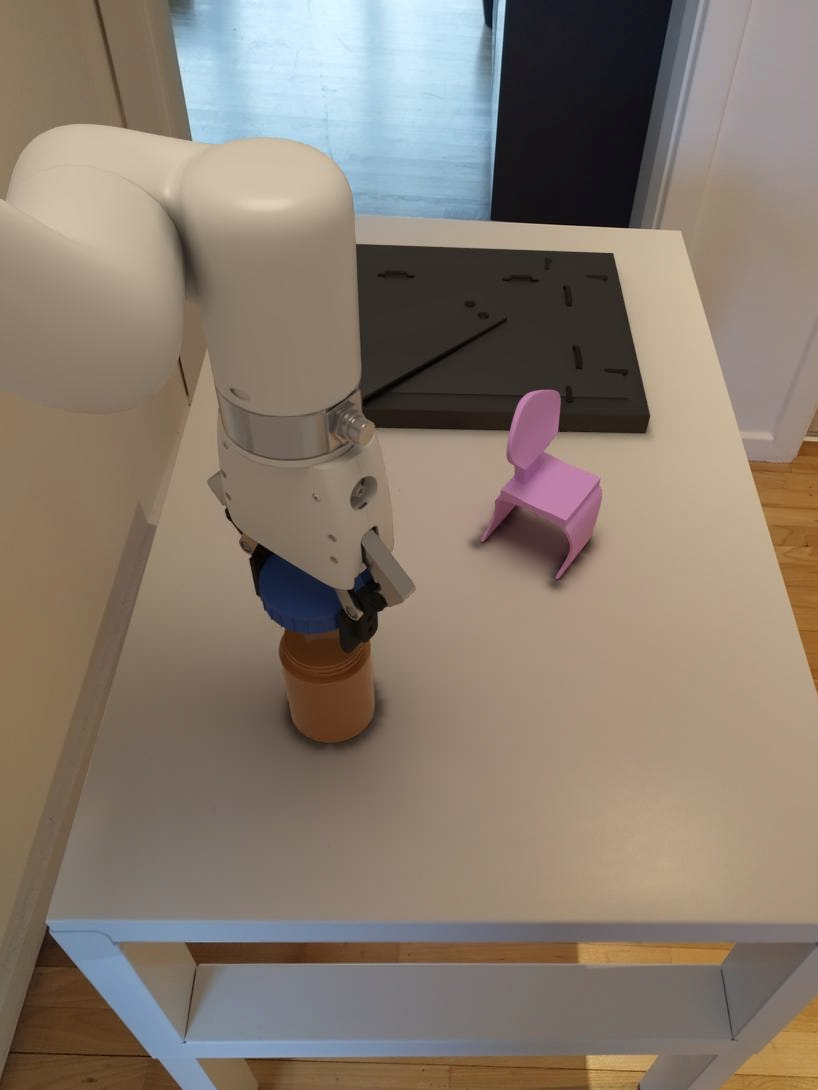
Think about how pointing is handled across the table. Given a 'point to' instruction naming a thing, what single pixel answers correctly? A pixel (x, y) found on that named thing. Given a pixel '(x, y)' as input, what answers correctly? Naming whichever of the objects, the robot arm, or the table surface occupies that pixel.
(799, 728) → the table surface
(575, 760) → the table surface
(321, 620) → the jar lid
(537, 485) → the toy chair
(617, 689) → the table surface
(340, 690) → the jar
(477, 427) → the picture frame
